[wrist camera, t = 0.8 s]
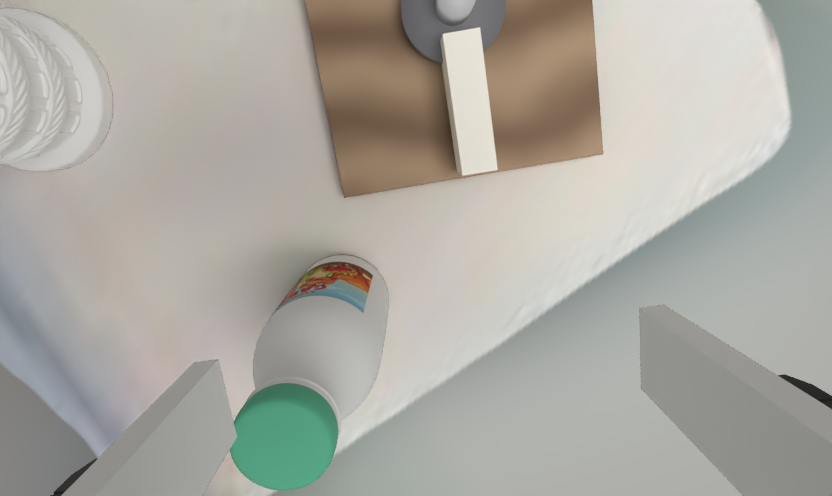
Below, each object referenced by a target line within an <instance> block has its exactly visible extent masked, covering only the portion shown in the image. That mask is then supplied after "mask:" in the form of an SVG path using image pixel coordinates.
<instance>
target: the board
mask: <svg viewBox="0 0 832 496" xmlns="http://www.w3.org/2000/svg"><path fill="white" fill-rule="evenodd" d="M505 1H506V8H505V16H504V21H503V24H502V27H501V29H500V31H499V33H498V35H497V37H496V38H495V40H494V41H493V42H492V44H491V45H490V46H489V47H488V49H487V50H486V51H485V52H484V53H483V54H484V63H485V71H486V79H487V87H488V95H489V103H490V111H491V119H492V127H493V135H494V143H495V151H496V159H497V167H498V170H495V171H489V172H483V173H477V174H471V175H465V176H462V175H460V174H459V173H457V168H456V161H455V154H454V147H453V140H452V133H451V126H450V119H449V112H448V105H447V98H446V92H445V85H444V78H443V71H442V65H440V64H437V63H434V62H432V61H430V60H428V59H426V58H425V57H423V56H422V55H421V54H419V53H418V52H417V51H416V50H415V48H414V47H413V46H412V45H411V43H410V42H409V40H408V38H407V36H406V33H405V31H404V27H403V23H402V15H401V0H305V4H306V9H307V14H308V19H309V24H310V29H311V34H312V39H313V44H314V49H315V54H316V59H317V64H318V69H319V74H320V79H321V84H322V89H323V94H324V99H325V104H326V109H327V114H328V119H329V124H330V129H331V134H332V139H333V144H334V148H335V153H336V158H337V163H338V168H339V173H340V178H341V183H342V188H343V193H344V198H346V197H352V196H357V195H363V194H369V193H375V192H381V191H387V190H393V189H399V188H405V187H411V186H417V185H423V184H429V183H435V182H441V181H447V180H453V179H459V178H465V177H471V176H476V175H482V174H488V173H494V172H500V171H506V170H512V169H518V168H524V167H530V166H536V165H542V164H548V163H554V162H560V161H566V160H572V159H578V158H584V157H590V156H595V155H601V154H603V145H602V131H601V117H600V103H599V89H598V75H597V62H596V48H595V34H594V20H593V6H592V0H505Z"/></svg>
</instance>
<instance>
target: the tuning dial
mask: <svg viewBox="0 0 832 496" xmlns="http://www.w3.org/2000/svg"><path fill="white" fill-rule="evenodd" d="M505 8H506V1H505V0H401V15H402V23H403V27H404V31H405V33H406V36H407V38H408V40H409V42H410V43H411V45H412V46H413V47H414V48H415V50H416V51H417V52H418V53H419V54H421V55H422V56H423V57H425V58H426V59H428V60H430V61H432V62H434V63H437V64H440V65H442V71H443V78H444V85H445V92H446V98H447V105H448V112H449V119H450V126H451V133H452V140H453V147H454V154H455V161H456V168H457V173H459V174H460V175H462V176H465V175H471V174H477V173H483V172H489V171H495V170H498V167H497V159H496V151H495V143H494V135H493V127H492V119H491V111H490V103H489V95H488V87H487V79H486V71H485V63H484V54H483V53H484V52H485V51H486V50H487V49H488V47H489V46H490V45H491V44H492V42H493V41H494V40H495V38H496V37H497V35H498V33H499V31H500V29H501V27H502V24H503V21H504V16H505Z"/></svg>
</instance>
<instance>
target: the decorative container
mask: <svg viewBox="0 0 832 496" xmlns="http://www.w3.org/2000/svg"><path fill="white" fill-rule="evenodd" d="M112 116H113V93H112V90H111V86H110V83H109V79H108V75H107V72H106V71H105V69H104V67H103V65H102V63H101V61H100V60H99V58H98V56H97V54H96V53H95V52H94V50H93V49H92V48H91V47H90V46H89V45H88V44H87V43H86V41H85V40H84V39H83V38H82V37H81V36H80V35H78V34H77V33H76V32H74V31H73V30H71V29H70V28H69V27H67V26H66V25H65V24H63V23H61V22H58V21H56V20H54V19H51V18H49V17H46V16H44V15H41V14H38V13H35V12H33V11H30V10H23V9H16V8H9V7H6V8H0V164H6V165H8V166H11V167H14V168H16V169H21V170H29V171H37V172H40V171H52V170H59V169H66V168H70V167H72V166H75V165H77V164H79V163H81V162H83V161H86V160H87V159H88V158H89V157H90V156H91V155H92V154H93V153H95V152H96V151H97V150H98V149H99V148H100V146H101V144H102V143H103V141H104V139H105V138H106V136H107V134H108V132H109V128H110V124H111V120H112Z"/></svg>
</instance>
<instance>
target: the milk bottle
mask: <svg viewBox="0 0 832 496" xmlns="http://www.w3.org/2000/svg"><path fill="white" fill-rule="evenodd" d="M388 307H389V295H388V289H387V286H386V283H385V281H384V279H383V277H382V276H381V274H380V273H379V272H378V271H377V270H376V269H375V268H374V267H373V266H372V265H371V264H369V263H368V262H366V261H364V260H362V259H360V258H357V257H354V256H348V255H335V256H330V257H327V258H324V259H322V260H320V261H318V262H317V263H315V264H314V265H313V266H311V267H310V268H309V269H308V270H307V272H306V273H305V274H304V275H303V276H302V277H301V279H300V280H299V281H298V282H297V284H296V285H295V286H294V287H293V289H292V290H291V291H290V292H289V294H288V295H287V296H286V297H285V299H284V300H283V301H282V303H281V304H280V305H279V306H278V308H277V309H276V310H275V312H274V313H273V315H272V316H271V318H270V319H269V321H268V322H267V324H266V325H265V327H264V328H263V330H262V332H261V335H260V337H259V339H258V342H257V345H256V349H255V353H254V359H253V378H254V383H255V388H256V389H255V390H254V391H253V392H252V393H251V395H250V396H249V398H248V399H247V401H246V403H245V404H244V406H243V407H242V409H241V410H240V412H239V413H238V415H237V417H236V419H235V421H234V426H235V430H236V434H237V438H236V440H235V441H234V443H233V445H232V447H231V448H230V453H231V456H232V459H233V461H234V463H235V465H236V466H237V468H238V469H239V470H240V471H241V473H242V474H243V475H244V476H246V477H247V478H248V479H249V480H251V481H252V482H254V483H256V484H258V485H260V486H262V487H265V488H269V489H273V490H294V489H298V488H302V487H305V486H307V485H309V484H311V483H312V482H314V481H315V480H317V479H318V478H319V477H320V476H321V475H322V474H323V473H324V471H325V470H326V469H327V467H328V466H329V464H330V462H331V460H332V458H333V455H334V452H335V448H336V444H337V439H338V435H339V432H340V426H341V420H343V419H344V418H346V417H347V416H348V415H350V414H351V413H352V412H353V411H354V410H356V409H357V407H358V406H359V405H360V404H361V403H362V402H363V401H364V399H365V398H366V397H367V395H368V393H369V392H370V390H371V388H372V386H373V384H374V382H375V379H376V377H377V374H378V371H379V366H380V362H381V357H382V352H383V346H384V339H385V332H386V324H387V316H388Z"/></svg>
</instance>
